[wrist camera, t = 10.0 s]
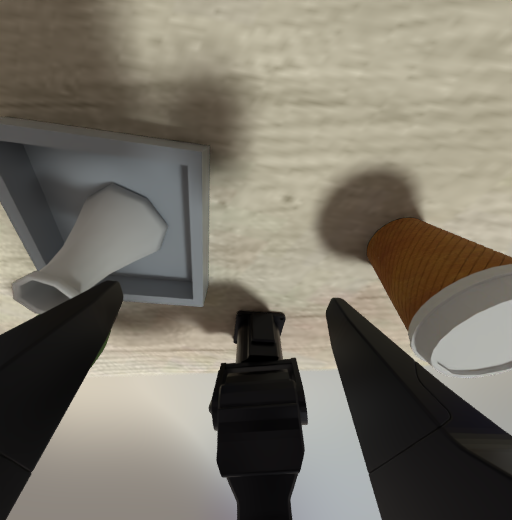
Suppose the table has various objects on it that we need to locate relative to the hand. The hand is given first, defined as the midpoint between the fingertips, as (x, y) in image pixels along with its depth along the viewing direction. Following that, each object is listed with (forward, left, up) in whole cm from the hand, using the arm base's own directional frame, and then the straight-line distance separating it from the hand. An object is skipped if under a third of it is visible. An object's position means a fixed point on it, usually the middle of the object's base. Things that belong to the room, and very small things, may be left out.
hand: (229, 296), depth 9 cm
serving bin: (-4, +10, -13) cm, 17 cm away
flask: (-4, +10, -12) cm, 16 cm away
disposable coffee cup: (-3, -17, -13) cm, 22 cm away
